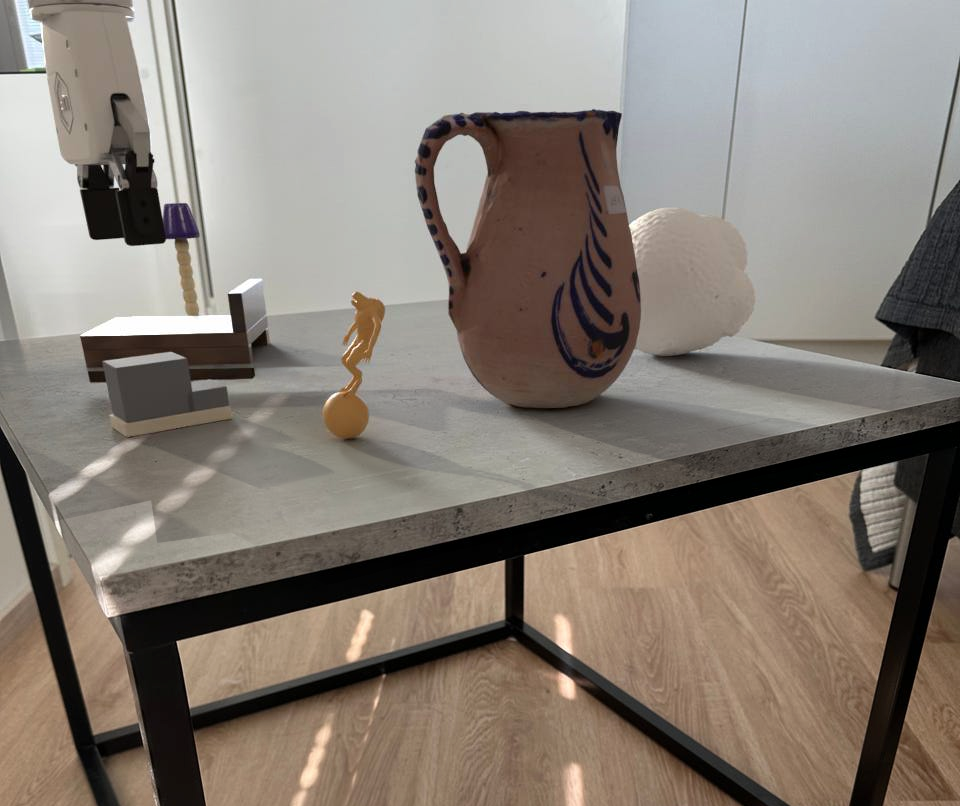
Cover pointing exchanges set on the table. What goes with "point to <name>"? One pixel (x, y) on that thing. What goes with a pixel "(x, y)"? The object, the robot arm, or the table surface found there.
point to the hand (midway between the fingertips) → (127, 241)
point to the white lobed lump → (689, 281)
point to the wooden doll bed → (188, 337)
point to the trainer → (161, 395)
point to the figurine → (355, 370)
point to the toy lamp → (183, 248)
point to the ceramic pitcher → (540, 255)
